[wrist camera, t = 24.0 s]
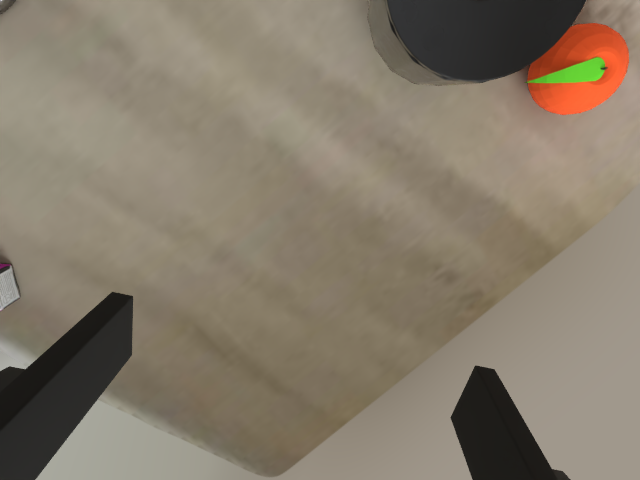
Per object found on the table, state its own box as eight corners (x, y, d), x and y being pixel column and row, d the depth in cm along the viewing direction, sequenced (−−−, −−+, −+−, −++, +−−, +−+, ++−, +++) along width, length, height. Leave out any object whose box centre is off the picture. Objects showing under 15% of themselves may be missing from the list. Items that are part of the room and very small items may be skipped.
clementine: (502, 122, 36) (540, 128, 29) (500, 43, 33) (541, 31, 26) (589, 103, 35) (649, 106, 28) (594, 21, 32) (660, 3, 26)
